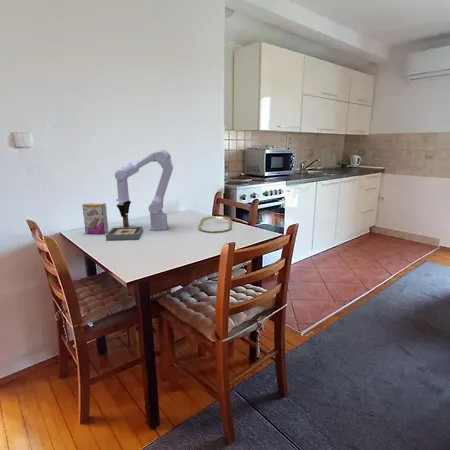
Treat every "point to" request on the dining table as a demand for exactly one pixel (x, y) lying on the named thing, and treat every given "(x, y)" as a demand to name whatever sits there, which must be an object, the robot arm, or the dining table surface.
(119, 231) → the oak hole plate
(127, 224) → the walnut peg
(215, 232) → the gold wire ring
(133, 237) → the charcoal tray
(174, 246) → the dining table surface
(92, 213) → the candy bar box
